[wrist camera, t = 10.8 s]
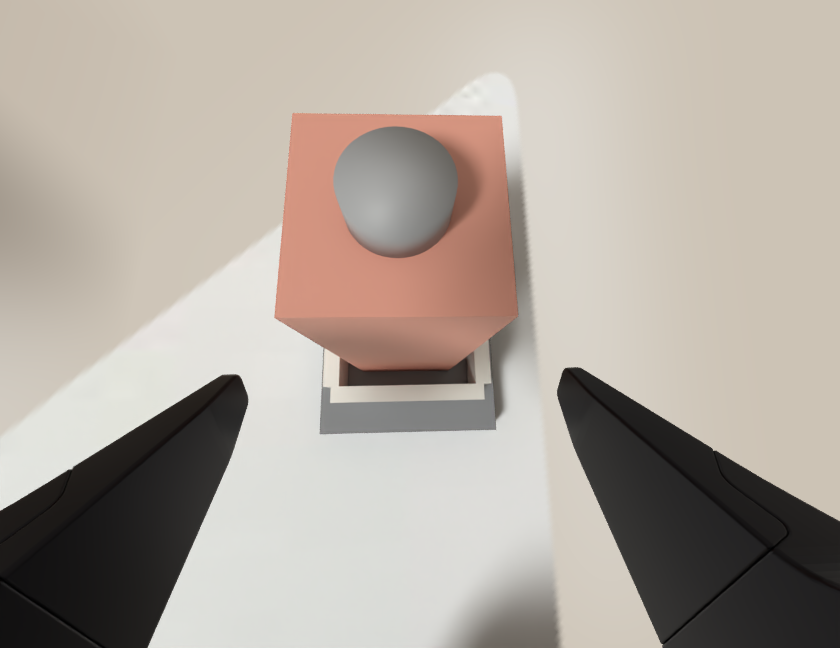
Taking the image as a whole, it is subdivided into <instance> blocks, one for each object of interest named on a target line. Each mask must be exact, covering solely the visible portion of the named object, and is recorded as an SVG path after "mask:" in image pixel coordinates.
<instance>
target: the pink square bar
mask: <svg viewBox="0 0 840 648" xmlns="http://www.w3.org/2000/svg"><path fill="white" fill-rule="evenodd" d="M517 317H518V307H517V295H516V283H515V271H514V259H513V247H512V235H511V223H510V211H509V199H508V187H507V175H506V163H505V151H504V139H503V127H502V116H466V115H387V114H386V115H385V114H307V113H306V114H305V113H293V114H292V125H291V136H290V147H289V159H288V170H287V182H286V193H285V204H284V215H283V226H282V238H281V249H280V260H279V271H278V283H277V294H276V305H275V317H274V318H276V319H277V320H279V321H281V322H282V323H284V324H286V325H287V326H289V327H290V328H292V329H294V330H295V331H297V332H299V333H300V334H302V335H304V336H305V337H307V338H309V339H310V340H312V341H314V342H315V343H317V344H319V345H320V346H322V347H324V348H325V349H327V350H329V351H330V352H332V353H334V354H335V355H337V356H338V357H340V358H342V359H343V360H345V361H347V362H348V363H350V364H352V365H353V366H355V367H357V368H358V369H360V370H362V371H363V372H372V371H448V370H450V369H451V368H452V367H454V366H455V365H456V364H457V363H459V362H460V361H461V360H463V359H464V358H465V357H466V356H468V355H469V354H470V353H472V352H473V351H474V350H475V349H477V348H478V347H479V346H481V345H482V344H483V343H484V342H486V341H487V340H488V339H490V338H491V337H492V336H494V335H495V334H496V333H497V332H499V331H500V330H501V329H503V328H504V327H505V326H506V325H508V324H509V323H510V322H512V321H513V320H514V319H515V318H517Z"/></svg>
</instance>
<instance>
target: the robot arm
mask: <svg viewBox="0 0 840 648" xmlns="http://www.w3.org/2000/svg"><path fill="white" fill-rule="evenodd" d="M557 396H558V400H559V403H560V406H561V409H562V412H563V416H564V419H565V421H566V424H567V428H568V431H569V434H570V437H571V440H572V443H573V446H574V449H575V451H576V453H577V456H578V458H579V460H580V462H581V465H582V467H583V469H584V471H585V474H586V476H587V478H588V480H589V482H590V485H591V487H592V489H593V492H594V494H595V496H596V498H597V501H598V503H599V505H600V507H601V510H602V512H603V514H604V516H605V519H606V521H607V523H608V525H609V528H610V530H611V532H612V534H613V536H614V539H615V541H616V543H617V545H618V548H619V550H620V552H621V554H622V557H623V559H624V561H625V563H626V566H627V568H628V570H629V573H630V575H631V577H632V579H633V581H634V584H635V586H636V588H637V590H638V593H639V595H640V597H641V599H642V602H643V604H644V606H645V608H646V611H647V613H648V615H649V617H650V620H651V622H652V624H653V626H654V629H655V631H656V633H657V635H658V637H659V640H660V642H661V644H663V646H662V647H663V648H840V521H838V520H836V519H834V518H833V517H831V516H829V515H827V514H825V513H824V512H822V511H820V510H818V509H816V508H814V507H813V506H811V505H809V504H807V503H805V502H803V501H802V500H800V499H798V498H796V497H794V496H792V495H791V494H789V493H787V492H785V491H784V490H782V489H780V488H778V487H776V486H775V485H773V484H771V483H769V482H768V481H766V480H764V479H762V478H761V477H759V476H757V475H756V474H754V473H752V472H751V471H749V470H747V469H745V468H744V467H742V466H740V465H739V464H737V463H735V462H734V461H732V460H730V459H729V458H727V457H726V456H724V455H722V454H720V453H719V452H717V451H713V449H712V448H711V447H709V446H708V445H706V444H704V443H703V442H701V441H699V440H698V439H696V438H694V437H693V436H691V435H690V434H688V433H686V432H684V431H683V430H681V429H679V428H678V427H676V426H675V425H673V424H671V423H670V422H668V421H667V420H665V419H663V418H662V417H660V416H658V415H657V414H655V413H654V412H652V411H650V410H649V409H647V408H645V407H644V406H642V405H641V404H639V403H637V402H636V401H634V400H632V399H631V398H629V397H627V396H626V395H624V394H623V393H621V392H619V391H618V390H616V389H614V388H613V387H611V386H609V385H608V384H606V383H604V382H603V381H601V380H600V379H598V378H596V377H595V376H593V375H591V374H590V373H588V372H587V371H585V370H583V369H582V368H578V367H577V368H576V367H574V368H565V369H564V370H563V373H562V376H561V379H560V382H559V386H558V390H557ZM247 406H248V395H247V392H246V390H245V387H244V384H243V382H242V379H241V377H240V376H239V375H237V374H229V375H221V376H220V377H218V378H216V379H215V380H213V381H211V382H210V383H208V384H207V385H205V386H203V387H202V388H200V389H199V390H197V391H195V392H194V393H192V394H190V395H189V396H187V397H186V398H184V399H182V400H181V401H179V402H178V403H176V404H174V405H173V406H171V407H169V408H168V409H166V410H165V411H163V412H161V413H160V414H158V415H156V416H155V417H153V418H152V419H150V420H148V421H147V422H145V423H144V424H142V425H140V426H139V427H137V428H135V429H134V430H132V431H131V432H129V433H127V434H126V435H124V436H123V437H121V438H119V439H118V440H116V441H114V442H113V443H111V444H110V445H108V446H106V447H105V448H103V449H101V450H100V451H98V452H97V453H95V454H93V455H92V456H90V457H89V458H87V459H85V460H84V461H82V462H80V463H79V464H77V465H76V466H74V467H73V469H72V470H71V469H70V470H67V471H66V472H64V473H63V474H61V475H59V476H58V477H56V478H55V479H53V480H51V481H50V482H48V483H46V484H45V485H43V486H41V487H40V488H38V489H36V490H35V491H33V492H31V493H30V494H28V495H27V496H25V497H23V498H22V499H20V500H18V501H17V502H15V503H13V504H11V505H10V506H8V507H6V508H4V509H3V510H1V511H0V648H148V645H149V643H150V641H151V639H152V636H153V634H154V632H155V629H156V627H157V625H158V623H159V620H160V618H161V616H162V614H163V611H164V609H165V607H166V604H167V602H168V600H169V598H170V595H171V593H172V591H173V588H174V586H175V584H176V582H177V579H178V577H179V575H180V573H181V570H182V568H183V566H184V563H185V561H186V559H187V557H188V554H189V552H190V550H191V548H192V545H193V543H194V541H195V538H196V536H197V534H198V532H199V529H200V527H201V525H202V522H203V520H204V518H205V516H206V513H207V511H208V509H209V507H210V504H211V502H212V500H213V497H214V495H215V493H216V491H217V488H218V486H219V484H220V481H221V479H222V477H223V475H224V472H225V470H226V468H227V466H228V463H229V461H230V458H231V456H232V453H233V450H234V447H235V444H236V441H237V438H238V434H239V431H240V428H241V425H242V422H243V419H244V415H245V412H246V409H247Z"/></svg>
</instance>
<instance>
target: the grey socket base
mask: <svg viewBox="0 0 840 648" xmlns="http://www.w3.org/2000/svg"><path fill="white" fill-rule="evenodd" d="M460 430H496V420H495V406H494V392H493V377H492V363H491V349H490V339H488V340H487V341H486V342H484V343H483V344H482V345H481V346H479V347H478V348H477V349H475V350H474V351H473V352H472V353H470V354H469V355H468V356H466V357H465V358H464V359H463V360H461V361H460V362H459V363H457V364H456V365H455V366H454V367H452V368H451V369H450V370H448V371H372V372H363V371H362V370H360V369H358V368H357V367H355V366H353V365H352V364H350V363H348V362H347V361H345V360H343V359H342V358H340V357H338V356H337V355H335V354H334V353H332V352H330V351H329V350H327V349H325V348H324V350H323V372H322V395H321V417H320V434H342V433H382V432H421V431H460Z"/></svg>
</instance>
